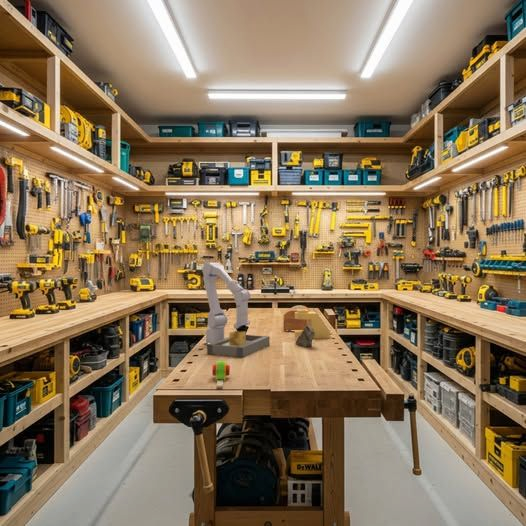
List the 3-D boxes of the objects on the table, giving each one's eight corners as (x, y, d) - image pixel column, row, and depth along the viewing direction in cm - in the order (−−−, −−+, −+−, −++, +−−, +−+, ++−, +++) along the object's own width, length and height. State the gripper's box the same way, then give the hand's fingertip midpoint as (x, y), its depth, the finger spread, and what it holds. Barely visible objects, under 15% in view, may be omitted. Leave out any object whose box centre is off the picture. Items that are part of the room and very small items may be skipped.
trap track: (207, 353, 191) (207, 344, 191) (237, 342, 219) (237, 334, 219) (242, 357, 183) (242, 347, 183) (269, 345, 211) (269, 336, 211)
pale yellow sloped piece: (296, 338, 229) (295, 310, 229) (293, 335, 239) (293, 309, 239) (330, 338, 230) (330, 310, 230) (326, 335, 240) (326, 308, 240)
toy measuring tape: (230, 373, 157) (230, 357, 157) (228, 389, 137) (228, 370, 137) (213, 374, 156) (213, 357, 156) (209, 389, 137) (209, 370, 137)
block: (229, 344, 197) (229, 332, 197) (235, 342, 203) (235, 330, 203) (240, 345, 195) (240, 333, 195) (245, 343, 200) (245, 331, 200)
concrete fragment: (299, 341, 220) (299, 321, 220) (320, 348, 203) (320, 326, 203) (289, 342, 216) (289, 322, 216) (310, 349, 200) (310, 327, 200)
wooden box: (287, 324, 284) (287, 304, 284) (311, 325, 281) (311, 305, 281) (281, 331, 255) (281, 309, 255) (306, 332, 252) (306, 310, 252)
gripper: (242, 316, 195) (242, 343, 195) (255, 312, 208) (255, 338, 208) (229, 315, 198) (230, 342, 198) (243, 312, 211) (243, 337, 211)
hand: (242, 340), depth 203 cm, fingers closed
